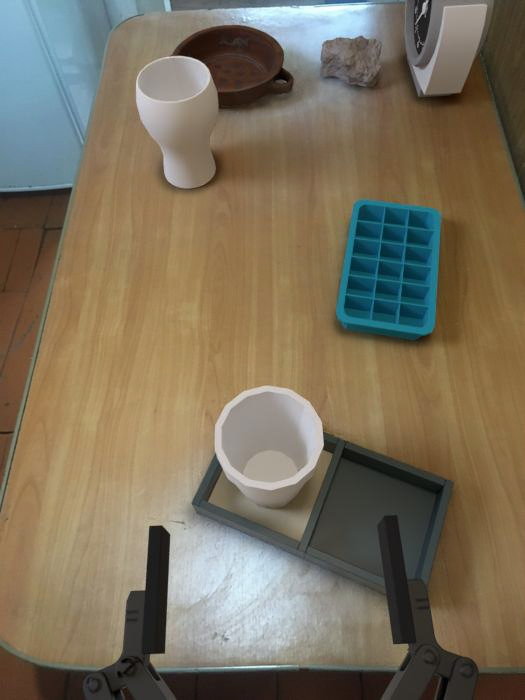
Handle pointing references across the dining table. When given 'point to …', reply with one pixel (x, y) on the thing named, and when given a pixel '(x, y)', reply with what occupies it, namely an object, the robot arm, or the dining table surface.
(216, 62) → the dish
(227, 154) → the dining table surface
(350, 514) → the divided tray
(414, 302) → the ice cube tray
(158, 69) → the cup
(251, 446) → the foam cup
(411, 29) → the alarm clock
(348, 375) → the dining table surface
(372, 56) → the stone
